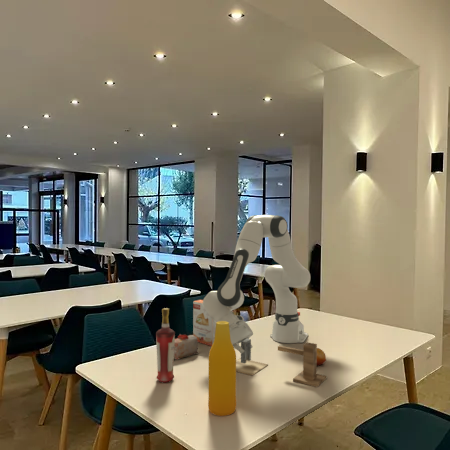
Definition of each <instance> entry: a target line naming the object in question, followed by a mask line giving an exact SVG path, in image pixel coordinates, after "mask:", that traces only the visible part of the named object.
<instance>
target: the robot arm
mask: <svg viewBox="0 0 450 450" xmlns="http://www.w3.org/2000/svg"><path fill="white" fill-rule="evenodd" d="M288 228H289V227H288V222H287V220H286V219H285V217H284V216H281V215H274V214H260V215H258V214H254V215H251V216H248V217H247V219H246V221H245V223H244V225H243V227H242V229H241V231H240V233H239V236H238V239H237V242H236V245H235V249H234V254H233V259H232V261H231V262H230V263H231V264H230V267H229V270H228V271H227V274H226V277H225V279H224V280H223V282H222V283H221V284H220V285H219V286H218V288H217V290H211V291H209V292H208V293H207V294H206V295H205V296H204V297H203V299H202V300H203V306H204V308H205V310H206V311H207V313H208V314H209V316H210V317H211V318H212V319H213V320H214V321H215V324H216V322H219V321H226V322H229V329H230V339H231V343H232V345H233V347H234V349H235V350H237V352H239V353H240V355H241V354H242V353H244V352H245V350H244V348H242V347H241V345H240V344H241V341H243V340H245V339H251V337H252V336H253V335H254V331H253V329H252V328H251V327H250V325H249V324H248V323H247V321H245V318H244V317H243V316H242V315H237V314H234V313H233V312H232V311H235V310H236V309H239V308H240V307H241V306H242V305H243V304H244V301H245V293H243V291H242V290H241V285H240V284H241V281H242V278H243V275H244V272H245V270H246V268H247V266H248V265H249V264H250V263H252V262H254V261H256V259H257V257H258V255H259V252H260V250H261V248H262V247H261V246H262V242H263V238H268V244H269V249H270V254H271V257H272V259H273V260H274V262H275V263H277V264H272V265H268V266H267V267H266V268H265V270H264V279H265V281H266V283H268V285H269V286H270V287H271V288H272V290H273V293H274V297H275V314H274V316H275V318H274V319H275V320H274V321H273V322H272V332H271V334H270V335H269V337H270V338H271V339H272V340H274V341H275V342H277V343H282V344H295V343H297V344H298V343H301V344H302V343H305V341H306V339H307V338H308V336H309V333H307V332H305V326H304V324H303V322H302V321H300V318H299V316H301V312H300V311H298V298H297V296H296V295H295V294H294V293H292V291H291V290H290V288H295V289H296V288H297V289H299V288H306V287H307V286H308V285H309V284H310V282H311V273H310V270H308V269H307V268H306V267H304V265H302V263H300V261H299V260H298V259H297V257H296V255H295V253H294V249H293V246H292V241H291V236H290V233H289V230H288ZM252 348H253V345H252V344H251V349H252Z"/></svg>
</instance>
